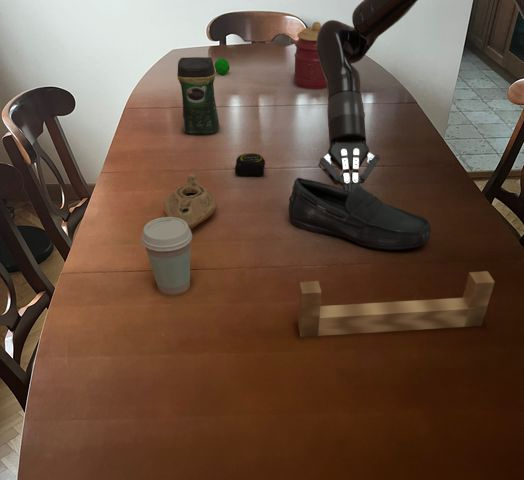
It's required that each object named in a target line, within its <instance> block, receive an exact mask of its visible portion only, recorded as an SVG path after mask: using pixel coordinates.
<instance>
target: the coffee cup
mask: <svg viewBox="0 0 524 480" xmlns="http://www.w3.org/2000/svg"><path fill="white" fill-rule="evenodd" d="M192 239H193V234H192V229H190V228H189V227H188V225H187V223H186V222H185V221H184V220H182V219H180V218H176V217H168V216H162V217H158V218H155V219H152V220H150V221H149V222H147V223H146V224H145V225H144V227H143V231H142V234H141V244H142V245H143V246H144V247H145V250H146V254H147V258H148V260H149V263H150V267H151V270H152V274H153V277H154V280H155V282H156V283H155V284H156V287H157V290H158V291H159V292H161V293H162V294H165V295H170V296H171V295H172V296H174V295H179V294H182V293H185V292H186V291H187V290H189V288H190V287H191V254H192V253H191V249H192V248H191V247H192V244H191V243H192Z"/></svg>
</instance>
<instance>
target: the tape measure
mask: <svg viewBox="0 0 524 480" xmlns="http://www.w3.org/2000/svg"><path fill="white" fill-rule="evenodd" d="M265 166H266V160H265V159H264V157H263V155H262V154H260V153H254V152H251V153H250V152H249V153H247V152H246V153H243V154H240V155H238V157H237V158H236V161H235V166H234V171H235V174H236V175H237V176H245V177H246V176H247V177H248V176H249V177H254V176H255V177H256V176H257V177H262V176H264V174H265Z"/></svg>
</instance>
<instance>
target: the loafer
mask: <svg viewBox="0 0 524 480" xmlns="http://www.w3.org/2000/svg"><path fill="white" fill-rule="evenodd" d="M288 201H289V204H288V214H289V216H288V217H289V221H290V222H291V224H292V225H293V226H294V227H295V228H296V229H297V228H298V229H301V230H303V231H306V232H310V233H313V234H318V235H328V236H337V237H340V238H344V239H348V240H350V241H352V242H354V243H356V244H357V245H359V246H361V247H364V248H369V249H372V250H376V251H377V250H378V251H386V250H387V251H404V250H410V249H415V248H419V247H421V246H423V245H425V244H426V243H427V242H428V241H429V240H430V238H431V232H432V228H431V227H432V226H431V224H430V221H429V220H428V219H427V218H426V217H423V216H420V215H417V214H415V213H411V212H409V211H407V210H404V209H402V208H401V209H400V208H398V207H395V206H393V205H390V204H387V203H384V202H383V201H382V200H381V199H380V198H378V197H377V196H374V195H373V194H372V193H371V192H369V191H367V190H366V189H365V188H364V187H363V186H361V185H360V184H358V185H357V186H356V187H355V188H354V189H353V190H352V192H350V191H347V190H343V188H340V187H336V186H334V185H331V184H328V183H324V182H321V181H317V180H312V179H308V178H303V177H296V178H295V180H294V182H293V186H292V191H291V195H290V196H289V198H288Z"/></svg>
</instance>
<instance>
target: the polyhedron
mask: <svg viewBox="0 0 524 480" xmlns="http://www.w3.org/2000/svg"><path fill="white" fill-rule="evenodd" d="M213 65H214V69H215V73H217V74H218V75H220V76H225V75H227V74H228V73H229V72H230V63H229V61H228V60H227V59H225V58H223V57H222V58H221V57H220V58H219V59H217V60H216V61H215V62H214V64H213Z"/></svg>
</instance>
